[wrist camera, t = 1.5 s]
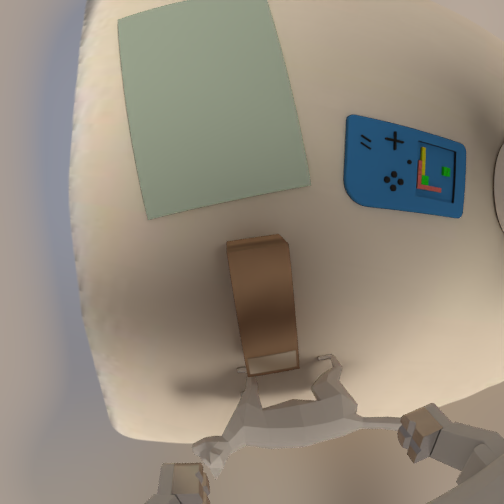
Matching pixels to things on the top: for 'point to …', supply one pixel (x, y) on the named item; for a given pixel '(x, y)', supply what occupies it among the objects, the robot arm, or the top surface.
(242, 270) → the walnut block
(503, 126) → the top surface
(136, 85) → the rubber mat
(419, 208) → the handheld gaming device
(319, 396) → the cat figurine
